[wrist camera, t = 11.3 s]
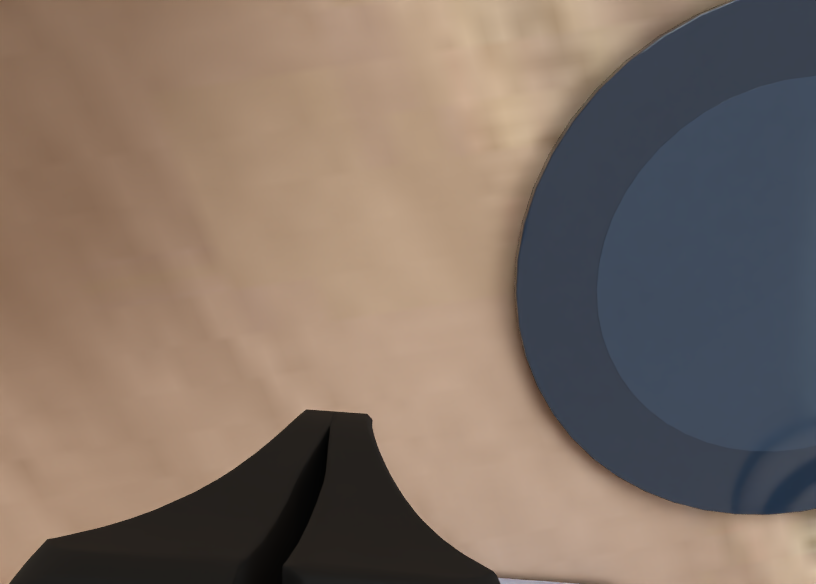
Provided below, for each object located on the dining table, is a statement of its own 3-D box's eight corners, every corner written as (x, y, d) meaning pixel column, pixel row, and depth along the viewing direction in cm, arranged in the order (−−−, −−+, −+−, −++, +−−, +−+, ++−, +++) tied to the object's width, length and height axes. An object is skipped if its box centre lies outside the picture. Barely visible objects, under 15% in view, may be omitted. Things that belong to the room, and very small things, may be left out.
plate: (971, 524, 25) (983, 533, 24) (488, 488, 25) (489, 497, 25) (1159, 3, 20) (1178, 1, 19) (550, -39, 20) (553, -42, 19)
